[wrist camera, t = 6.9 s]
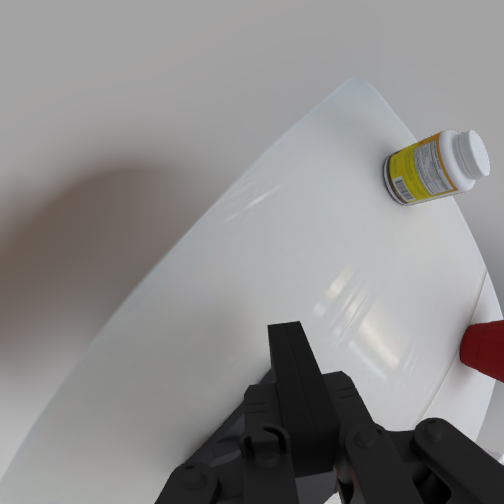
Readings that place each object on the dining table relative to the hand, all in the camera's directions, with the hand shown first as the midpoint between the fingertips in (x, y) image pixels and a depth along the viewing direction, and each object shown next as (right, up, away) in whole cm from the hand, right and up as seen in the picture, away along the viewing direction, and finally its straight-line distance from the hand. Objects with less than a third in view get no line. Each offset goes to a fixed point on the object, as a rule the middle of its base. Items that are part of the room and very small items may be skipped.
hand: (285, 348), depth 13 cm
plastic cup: (+29, -9, +17) cm, 35 cm away
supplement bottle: (+13, +12, +13) cm, 22 cm away
